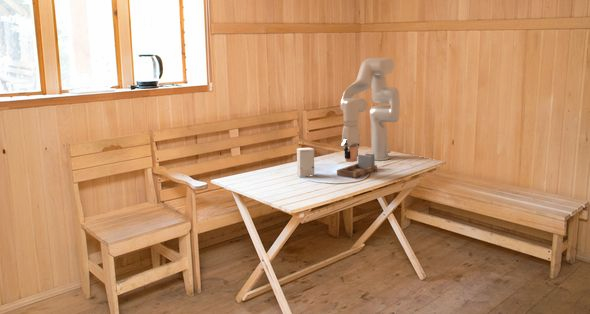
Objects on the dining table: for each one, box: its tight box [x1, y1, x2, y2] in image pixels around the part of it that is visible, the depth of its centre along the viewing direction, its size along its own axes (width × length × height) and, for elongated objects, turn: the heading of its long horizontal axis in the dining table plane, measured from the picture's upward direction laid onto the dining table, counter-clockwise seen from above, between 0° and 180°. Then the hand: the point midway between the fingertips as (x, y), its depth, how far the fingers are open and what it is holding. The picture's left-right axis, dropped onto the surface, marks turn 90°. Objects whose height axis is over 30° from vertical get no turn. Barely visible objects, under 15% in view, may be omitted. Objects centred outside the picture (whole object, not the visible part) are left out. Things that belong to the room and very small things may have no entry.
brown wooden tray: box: [336, 162, 378, 179], centre depth 302 cm, size 20×12×3 cm, turn 138°
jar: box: [345, 144, 358, 163], centre depth 296 cm, size 6×6×9 cm
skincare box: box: [296, 147, 315, 178], centre depth 300 cm, size 8×6×15 cm
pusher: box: [357, 152, 376, 168], centre depth 308 cm, size 6×8×7 cm
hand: (351, 157), depth 296 cm, fingers closed on jar, 6 cm apart
